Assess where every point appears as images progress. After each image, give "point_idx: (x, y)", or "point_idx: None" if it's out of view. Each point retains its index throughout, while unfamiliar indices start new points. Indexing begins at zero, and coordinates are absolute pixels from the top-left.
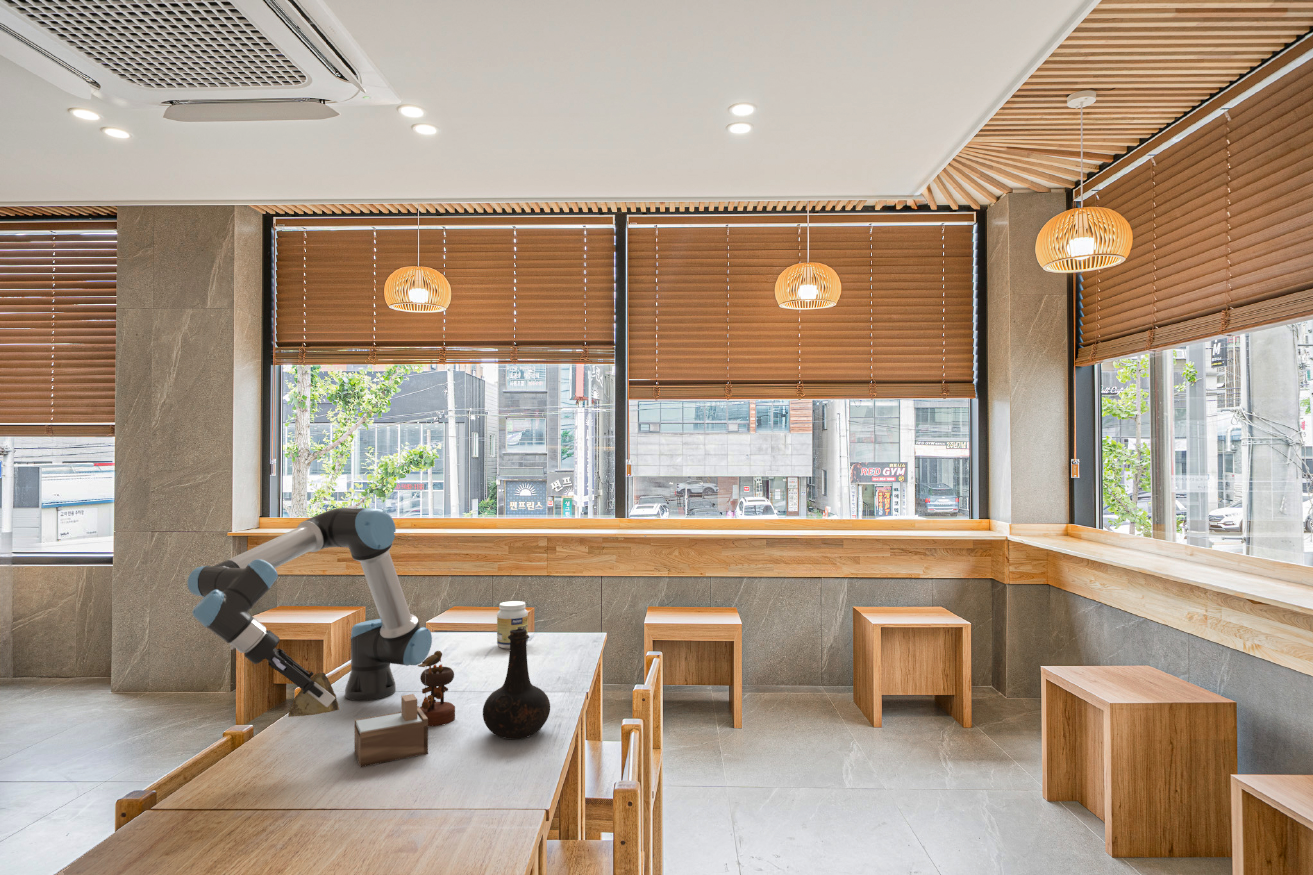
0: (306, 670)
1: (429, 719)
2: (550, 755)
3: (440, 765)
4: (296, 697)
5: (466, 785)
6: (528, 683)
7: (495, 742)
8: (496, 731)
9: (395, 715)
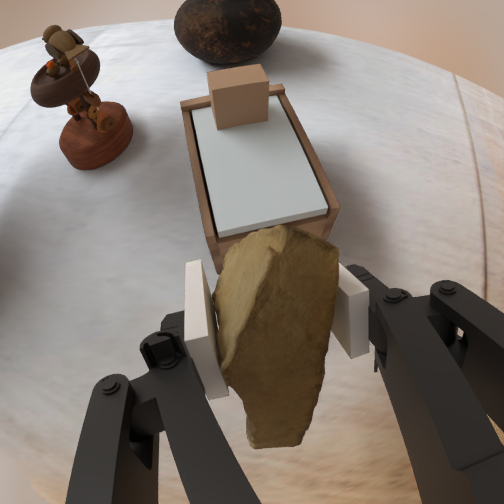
0: (108, 392)
1: (122, 137)
2: (322, 37)
3: (338, 124)
4: (300, 423)
5: (410, 107)
6: None
7: None
8: (262, 51)
9: (213, 141)
